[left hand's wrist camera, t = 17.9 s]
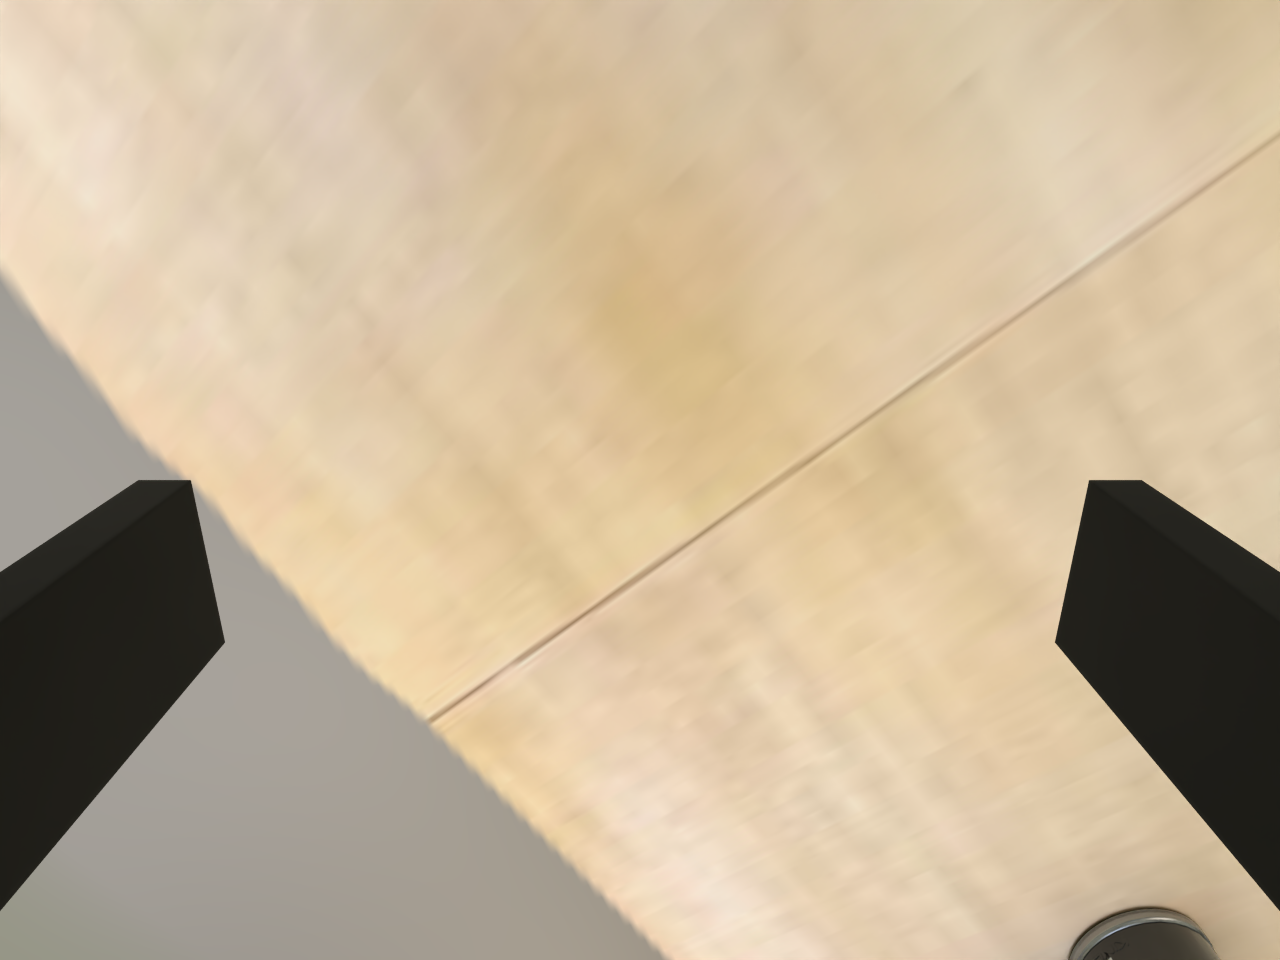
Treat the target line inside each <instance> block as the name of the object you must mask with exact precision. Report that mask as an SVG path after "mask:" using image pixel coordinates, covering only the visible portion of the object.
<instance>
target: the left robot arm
mask: <svg viewBox="0 0 1280 960" xmlns="http://www.w3.org/2000/svg"><path fill="white" fill-rule="evenodd" d="M224 643H225V640H224V635H223V631H222V626H221V621H220V616H219V612H218V607H217V602H216V598H215V593H214V588H213V583H212V579H211V574H210V569H209V564H208V560H207V555H206V550H205V545H204V541H203V536H202V531H201V526H200V522H199V517H198V512H197V507H196V503H195V498H194V493H193V488H192V484H191V480H138V481H137V482H135V483H134V484H132V485H131V486H129V487H128V488H126V489H124V490H123V491H121V492H120V493H119V494H117V495H116V496H114V497H113V498H111V499H109V500H108V501H106V502H105V503H103V504H102V505H100V506H99V507H97V508H96V509H94V510H93V511H91V512H90V513H88V514H87V515H85V516H84V517H82V518H81V519H79V520H78V521H76V522H75V523H73V524H72V525H70V526H69V527H67V528H66V529H64V530H63V531H61V532H60V533H58V534H57V535H55V536H54V537H52V538H51V539H49V540H48V541H46V542H45V543H43V544H42V545H40V546H39V547H37V548H36V549H34V550H33V551H31V552H30V553H28V554H27V555H25V556H24V557H22V558H21V559H19V560H18V561H16V562H15V563H13V564H12V565H10V566H9V567H7V568H6V569H4V570H3V571H1V572H0V910H1V909H2V908H3V907H4V906H5V905H6V903H7V902H8V901H9V900H10V899H11V897H12V896H13V895H14V894H15V893H16V891H17V890H18V889H19V888H20V887H21V885H22V884H23V883H24V882H25V881H26V879H27V878H28V877H29V876H30V875H31V874H32V872H33V871H34V870H35V869H36V868H37V866H38V865H39V864H40V863H41V862H42V860H43V859H44V858H45V857H46V856H47V854H48V853H49V852H50V851H51V850H52V848H53V847H54V846H55V845H56V844H57V842H58V841H59V840H60V839H61V838H62V836H63V835H64V834H65V833H66V832H67V831H68V829H69V828H70V827H71V826H72V825H73V823H74V822H75V821H76V820H77V819H78V817H79V816H80V815H81V814H82V813H83V811H84V810H85V809H86V808H87V807H88V805H89V804H90V803H91V802H92V801H93V799H94V798H95V797H96V796H97V795H98V793H99V792H100V791H101V790H102V789H103V787H104V786H105V785H106V784H107V783H108V782H109V780H110V779H111V778H112V777H113V776H114V774H115V773H116V772H117V771H118V769H119V768H120V767H121V766H122V765H123V764H124V762H125V761H126V760H127V759H128V758H129V756H130V755H131V754H132V753H133V752H134V750H135V749H136V748H137V747H138V746H139V744H140V743H141V742H142V741H143V740H144V739H145V737H146V736H147V735H148V734H149V733H150V731H151V730H152V729H153V728H154V727H155V725H156V724H157V723H158V722H159V721H160V719H161V718H162V717H163V716H164V715H165V713H166V712H167V711H168V710H169V709H170V707H171V706H172V705H173V704H174V703H175V701H176V700H177V699H178V698H179V697H180V695H181V694H182V693H183V692H184V691H185V690H186V688H187V687H188V686H189V685H190V683H191V682H192V681H193V680H194V679H195V678H196V676H197V675H198V674H199V673H200V672H201V670H202V669H203V668H204V667H205V666H206V664H207V663H208V662H209V661H210V660H211V658H212V657H213V656H214V655H215V654H216V652H217V651H218V650H219V649H220V648H221V647H222V645H223V644H224ZM1055 643H1056V644H1057V645H1058V647H1059V648H1060V649H1061V650H1062V651H1063V652H1064V654H1065V655H1066V656H1067V657H1068V658H1069V660H1070V661H1071V662H1072V663H1073V664H1074V666H1075V667H1076V668H1077V669H1078V670H1079V672H1080V673H1081V674H1082V675H1083V676H1084V678H1085V679H1086V680H1087V681H1088V682H1089V684H1090V685H1091V686H1092V687H1093V688H1094V690H1095V691H1096V692H1097V693H1098V694H1099V696H1100V697H1101V698H1102V699H1103V700H1104V701H1105V703H1106V704H1107V705H1108V706H1109V707H1110V709H1111V710H1112V711H1113V712H1114V713H1115V715H1116V716H1117V717H1118V718H1119V719H1120V721H1121V722H1122V723H1123V724H1124V725H1125V727H1126V728H1127V729H1128V730H1129V731H1130V733H1131V734H1132V735H1133V736H1134V737H1135V739H1136V740H1137V741H1138V742H1139V743H1140V744H1141V746H1142V747H1143V748H1144V749H1145V750H1146V752H1147V753H1148V754H1149V755H1150V756H1151V758H1152V759H1153V760H1154V761H1155V762H1156V764H1157V765H1158V766H1159V767H1160V768H1161V770H1162V771H1163V772H1164V773H1165V774H1166V776H1167V777H1168V778H1169V779H1170V780H1171V782H1172V783H1173V784H1174V785H1175V786H1176V788H1177V789H1178V790H1179V791H1180V792H1181V793H1182V795H1183V796H1184V797H1185V798H1186V799H1187V801H1188V802H1189V803H1190V804H1191V805H1192V807H1193V808H1194V809H1195V810H1196V811H1197V813H1198V814H1199V815H1200V816H1201V817H1202V819H1203V820H1204V821H1205V822H1206V823H1207V825H1208V826H1209V827H1210V828H1211V829H1212V831H1213V832H1214V833H1215V834H1216V835H1217V836H1218V838H1219V839H1220V840H1221V841H1222V842H1223V844H1224V845H1225V846H1226V847H1227V848H1228V850H1229V851H1230V852H1231V853H1232V854H1233V856H1234V857H1235V858H1236V859H1237V860H1238V862H1239V863H1240V864H1241V865H1242V866H1243V868H1244V869H1245V870H1246V871H1247V872H1248V874H1249V875H1250V876H1251V877H1252V878H1253V879H1254V881H1255V882H1256V883H1257V884H1258V885H1259V887H1260V888H1261V889H1262V890H1263V891H1264V893H1265V894H1266V895H1267V896H1268V897H1269V899H1270V900H1271V901H1272V902H1273V903H1274V905H1275V906H1276V907H1277V908H1278V909H1279V911H1280V572H1279V571H1277V570H1276V569H1274V568H1273V567H1271V566H1270V565H1268V564H1267V563H1265V562H1264V561H1262V560H1261V559H1259V558H1258V557H1256V556H1255V555H1253V554H1252V553H1250V552H1249V551H1247V550H1246V549H1244V548H1243V547H1241V546H1240V545H1238V544H1237V543H1235V542H1234V541H1232V540H1231V539H1229V538H1228V537H1226V536H1225V535H1223V534H1222V533H1220V532H1219V531H1217V530H1216V529H1214V528H1213V527H1211V526H1210V525H1208V524H1207V523H1205V522H1204V521H1202V520H1201V519H1199V518H1198V517H1196V516H1195V515H1193V514H1192V513H1190V512H1189V511H1187V510H1186V509H1184V508H1183V507H1181V506H1180V505H1178V504H1177V503H1175V502H1174V501H1172V500H1171V499H1169V498H1168V497H1166V496H1165V495H1163V494H1162V493H1160V492H1159V491H1157V490H1156V489H1154V488H1153V487H1151V486H1149V485H1148V484H1146V483H1145V482H1143V481H1142V480H1089V484H1088V488H1087V493H1086V498H1085V503H1084V507H1083V512H1082V517H1081V522H1080V526H1079V531H1078V536H1077V541H1076V545H1075V550H1074V555H1073V560H1072V564H1071V569H1070V574H1069V579H1068V583H1067V588H1066V593H1065V597H1064V602H1063V607H1062V612H1061V616H1060V621H1059V626H1058V631H1057V635H1056V640H1055Z"/></svg>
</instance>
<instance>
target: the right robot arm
mask: <svg viewBox="0 0 1280 960" xmlns="http://www.w3.org/2000/svg"><path fill="white" fill-rule="evenodd" d="M1069 960H1221V959H1220V958H1219V957H1218V955H1217V954H1216V952H1215V951H1214V949H1213V947H1212V944H1211V943H1210V941H1209V940H1208V938H1207V937H1206V936H1205V934H1204V933H1203V931H1202V930H1201V929H1200V927H1199V926H1198V925H1197V924H1196V923H1195V922H1194V921H1192V920H1191V919H1190V918H1188V917H1186V916H1184V915H1182V914H1180V913H1177V912H1174V911H1169V910H1163V909H1140V910H1134V911H1129V912H1125V913H1122V914H1119V915H1116V916H1113V917H1111V918H1109V919H1107V920H1105V921H1103V922H1101V923H1099V924H1098V925H1096V926H1095V927H1093V928H1092V929H1091V930H1089V931H1088V932H1087V933H1086V934H1085V935H1084V936H1083V937H1082V938H1081V939H1080V940H1079V942H1078V943H1077V944H1076V946H1075V947H1074V949H1073V951H1072V953H1071V956H1070V959H1069Z"/></svg>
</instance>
